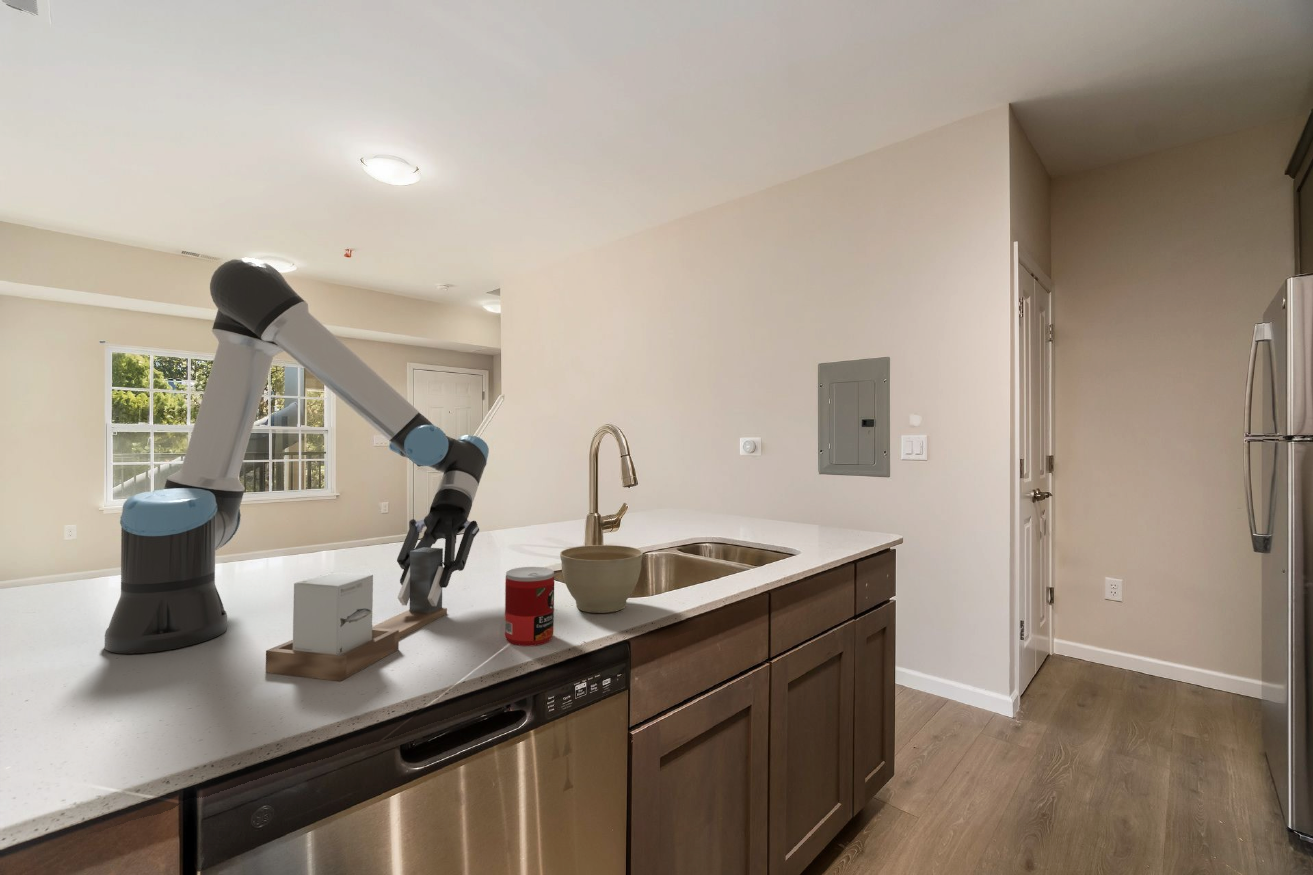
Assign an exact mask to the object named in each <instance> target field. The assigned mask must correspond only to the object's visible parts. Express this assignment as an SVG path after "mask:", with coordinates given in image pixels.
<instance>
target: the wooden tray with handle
mask: <svg viewBox="0 0 1313 875" xmlns="http://www.w3.org/2000/svg"><path fill="white" fill-rule="evenodd" d="M443 563H444V548H443V547H431V548H428V547H423V548H420V549H416V550H413V551H410V598H409V609H408V610H406V611H403V612H402V613H399V614H397V615H394V616H393V617H390V618H388V619H386V620H384V621H382V622H380V623H377V624H375V625H372V640H370V641H368V642H366V643H364V644H362V645H360V646H358V647H356V648H354V649H352V650H350V651H348V652H346V653H344V654H342V655H332V654H323V653H313V652H304V651H295V650H293V639H291V640H288V641H287V642H286V641H285V642H284V643H281V644H278V645H276V646H274V647H272V648H268V649H267V650H265V673H268V674H269V673H270V674H276V675H285V676H292V677H302V678H310V679H317V680H318V679H319V680H327V681H336V682H342V681H344V680H345V679H348V678H349V677H352V676H353V675H355V674H356V673H359V672H361V671H362V670H364V669H365V668H367V667H369V666H370V665H373V664H376V663H377V662H378V661H380V660H382V659H384V658H386V657H387V656H390V655H391V654H393V653H395V652H396V651H398V650H399V647H400V646H399V645H400V643H399V640H400V639H401V638H402V637H405V636H407V635H409V634H410V633H412V632H414V631H416V630H418V629H420V628H422V627H423V626H425V625H427V624H430V623H432V622H434V621H436V620H437V619H439V618H442V617H443V616H445V615H447V614H448V608H447V607H443V589H442V590H441V593H440V596H439V599H438V602H437V605H436V606H432V605H431V604H430V602H429V600H428V596H429V593H430V590H431V587H432V584H433V581H434V578H435V576H436V573H437V570H438V567H439V566H443V567H444V565H443Z"/></svg>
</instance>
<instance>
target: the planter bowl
mask: <svg viewBox="0 0 1313 875" xmlns="http://www.w3.org/2000/svg"><path fill="white" fill-rule="evenodd" d="M559 555H560V556H559V557H560V561H561V571H562V577H563V580H564V583H565V585H566V588H567V590H568V592H569V593H570V596H571V597H572V598H573V599H574V601H575V604H576V608H577V609H578V610H580V611H582V612H585V613H590V614H593V613H597V614H603V613H604V614H605V613H615V612H617V611H620V610H623V609H624V608H625V607H626V605H627V600H628V599H629V598H630V596H631V595H632V594H633V592H634V590H635V588H636V586H637V583H638V582H639V579H640V575H641V570H642V560H643V557H644V552H643V550H641V549H640V548H637V547H631V546H626V545H613V544H612V545H611V544H608V545H607V544H605V545H604V544H599V545H597V544H594V545H581V546H574V547H568V548H565V549H563V550H561V551H560V554H559Z"/></svg>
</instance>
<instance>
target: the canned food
mask: <svg viewBox="0 0 1313 875" xmlns="http://www.w3.org/2000/svg"><path fill="white" fill-rule="evenodd" d="M504 584H505V585H504V586H505V588H504V589H505V590H504V592H505V594H504V595H505V596H504V637H505V640H506V641H507V642H509V644H511V645H514V646H519V647H533V646H539V645H544V644H546V643H548V642H550V641H551V640H552V638H553V635H554V630H555V629H554V628H555V626H554V624H555V622H554V621H555V619H554V618H555V571H554V570H553V569H551V568H548V567H542V566H523V567H522V566H521V567H515V568H512V569H509V570H507V571H506V572H505V583H504Z"/></svg>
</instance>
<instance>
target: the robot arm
mask: <svg viewBox="0 0 1313 875" xmlns="http://www.w3.org/2000/svg"><path fill="white" fill-rule="evenodd" d="M210 279H211V280H210V282H209V291H210V292H209V293H210V296H211V299H212V301H213V304H214V305H215V307H216V308H217V312H216V315H215V318H214V322H213V325H212V328H211V332H212V334H213V335H214V336H215V338H216V339H217V341H218V346H217V349H216V352H215V356H214V358H213V363H212V365H211V368H210V371H209V375H208V378H207V381H206V386H205V388H204V392H203V395H202V398H201V403H200V405H199V409H198V412H197V416H196V419H195V422H194V425H193V428H192V432H191V435H190V438H189V442H188V445H187V449H186V452H185V455H184V459H183V462H182V465H181V468H180V469H179V470H178V471H176V472H174V473H172V474H171V475H168V476H167V478H166V481H165V485H164V487H163V489H156V490H153V491H144V492H140V493H137V494H134V495H132V496H130V497H129V498H127V499H126V500H125V501H124V502H123V505H122V510H121V515H120V521H119V524H120V527H121V529H120V530H121V531H120V532H121V536H120V538H121V539H120V540H121V546H120V548H121V549H120V550H121V552H120V557H121V558H120V563H121V564H120V569H121V570H120V597H119V599H118V601H117V604H116V606H115V609H114V611H113V614H112V617H111V619H110V622H109V625H108V627H107V628H106V629H105V632H104V649H105V650H106V651H108V652H110V653H114V654H127V655H129V654H133V655H135V654H146V653H157V652H164V651H168V650H175V649H179V648H185V647H188V646H193V645H196V644H200V643H204V642H205V641H208V640H209V641H210V640H212V639H215V638H216V637H218V636H220V635H222V634H224V633H225V632H226V631H227V630H228V613H227V611H226V610H225V608H224V604H223V601H222V599H221V596H220V593H219V591H218V589H217V586H216V582H215V581H216V551H217V550H219V549H220V548H222V547H223V546H225V545H226V544H228V542H230V540H232V538H234V536H235V535H236V534H237V531H238V530H239V527H240V524H241V516H242V515H241V509H240V507H241V504H242V500H243V497H244V493H245V491H246V490H245V489H246V487H245V486H244V485H243V484H242V482H241V481H240V479H239V476H240V473H241V470H242V466H243V463H244V459H245V456H246V455H245V454H246V452H247V449H248V445H249V442H250V439H251V435H252V431H253V428H254V424H255V421H256V417H257V414H258V411H259V408H260V405H261V401H262V397H263V394H264V389H265V387H266V383H267V379H268V376H269V373H270V369H271V367H272V366H271V365H272V362H273V359H274V357H275V356H278V355H279V354H281V353H283V352H284V353H286V354H288V355H289V356H290V357H291V358H292V359H293V360H295V361H296V362H297V363H298V364H300V366H302V367H303V368H304V369H305V370H306V371H307V372H308V373H310V374H311V375H312V376H313V377H315V378H316V379H317V380H318V381H319V382H320V383H322V384H323V386H325V387H326V388H327V389H329V390H330V391H331V392H332V393H333V394H334V395H335V396H337V397H338V398H339V399H340V400H341V401H343V403H345V404H346V405H347V406H349V407H350V409H352V410H353V411H354V412H355V413H357V414H358V415H359V416H360V417H361V418H363V419H364V420H365V422H367V423H368V424H369V425H371V426H372V427H373V428H374V429H375V430H377V431H378V433H380V434H381V435H382V436H383V437H385V438H386V440H388V441H389V445H388V448H389V450H390V451H391V452H393V453H396V454H398V455H399V456H401V457H404V458H407V459H409V460H410V461H411V462H412V463H413V464H415V465H416V466H419V467H429V468H431V469H434V470H435V471H438V472H441V473H443V474H442V477H441V479H440V482H439V484H438V487H437V489H436V493H435V495H434V497H433V499H432V502H431V505H430V508H429V511H428V513H427V515H426V516H425V517H424V519H420V520H417V521H416V519H414V518H413V519H410V520H409V522H408V526H409V527H408V528H409V529H408V531H407V533H406V536H405V539H404V541H403V544H402V545H401V549H400V551H399V554H398V557H396V558H397V559H396V562H397V563H398V565H399V567H400V568H401V570H403V571H402V573H401V576H400V578H399V583H400V585H401V588H400V590H399V593H398V595H397V599H398V601H399V602H400V604H401V605H402V606H407V605H408V603H409V602H410V551H413V550H416V549H420V548H423V547H428V548H432V546H433V545H435V544H436V542H437V541H438V540H441V539H442V540H445V541H444V542H445V543H444V552H443V566H439V567H438V570H437V573H436V576H435V578H434V581H433V584H432V587H431V590H430V593H429V596H428V600H429V602H430V604H431V605H432V606H436V605H437V602H438V599H439V596H440V593H441V590H442V591H443V588H444V589H446V588H447V587H448V586H449V583H450V580H451V578H452V574H453V573H454V572H456V571H460V572H461V571H463V570H464V569H465V567H466V565H467V561H468V557H469V554H470V551H471V548H472V545H473V542H474V539H475V538H476V536H477V534H478V533H479V532H480V527H479V525H478V522H477V521H476V520H472V521H470V520H468V518H469V516H470V514H471V510H472V507H473V503H474V501H475V497H476V495H477V492H478V489H479V486H480V482H481V479H482V477H483V474H484V471H485V468H486V466H487V464H488V463H487V462H488V457H489V453H490V452H489V450H490V449H489V446H488V444H487V442H486V441H485V440H483V438H480V437H479V436H478V435H477V436H476V435H470V434H465V435H461V436H460V437H458V438H457V439H456V438H453V437H451V436H448V435H446V433H445V432H444V431H443V429H441V428H440V427H439V426H436V425H434V424H433V423H432V422H431V421H430V420H429V419H428V418H426V417H425V416H424V415H423V414H422V413H420V411H419V410H418V409H416V407H415V406H414V405H413V404H411V403H410V402H409V401H408V400H407V399H405V397H403V396H402V395H401V394H400V393H399V392H398V391H397V390H396V389H395V388H393V387H392V386H391V385H390V384H389V383H388V382H387V381H385V380H384V379H383V378H382V377H381V376H380V375H379V374H378V373H377V372H376V371H375V370H373V368H371V367H370V366H369V365H368V364H367V363H366V362H364V361H363V360H362V359H361V358H360V357H359V356H358V355H357V354H355V353H354V352H353V351H352V350H351V349H350V348H349V347H348V346H347V345H346V344H345V343H344V342H342V340H340V339H339V338H338V337H337V336H335V334H333V333H332V332H331V331H330V330H329V329H328V328H327V327H326V326H324V325H323V323H321V321H319V320H318V319H317V318H315V317H314V316H313V315H312V314H311V313H310V312H309V304H308V302H307V301H305V300H304V299H303V297H301V296H300V295H299V294H298V293H297V292H296V291H295V290H294V289H293V287H292V286H291V285H290V284H289V283H288V282H287V281H286V279H285V277H284V276H283V275H282V274H281V272H279V270H277V269H276V268H275V267H273V266H272V265H270V264H269V263H266V262H265V261H263V260H262V261H261V260H259V259H256V258H249V257H243V258H242V257H240V258H234V259H231V260H228V261H225V262H223V264H220V266H218V267H217V269H215V271H214V272H213V274H212V276H211V278H210ZM425 527H426V529H425V530H424V532H423V528H425ZM463 530H464V532H463V535H462V537H461V541H460V544H459V546H458V549H457V552H456V544H457V535H458V534H460V533H461V532H462V531H463ZM421 533H423V535H422V537H421V539H420V534H421ZM419 539H420V540H419ZM418 540H419V542H418Z"/></svg>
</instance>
